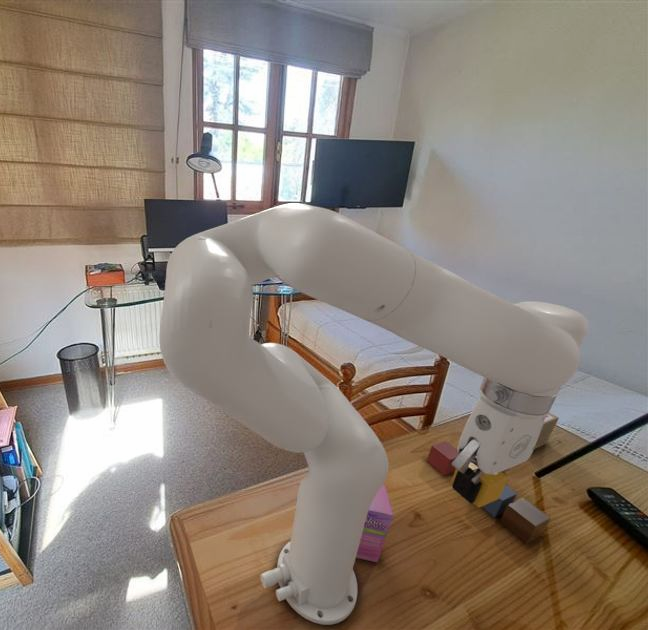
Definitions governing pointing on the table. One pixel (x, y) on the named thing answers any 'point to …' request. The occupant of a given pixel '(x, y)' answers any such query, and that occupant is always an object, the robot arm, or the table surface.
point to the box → (375, 527)
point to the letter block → (487, 486)
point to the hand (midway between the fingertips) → (474, 489)
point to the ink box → (546, 429)
